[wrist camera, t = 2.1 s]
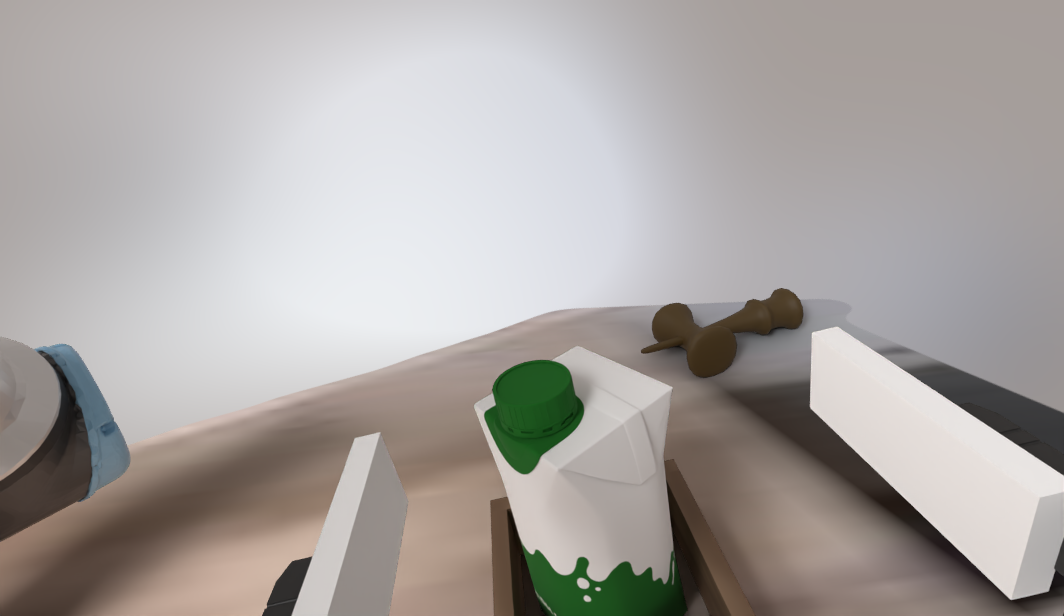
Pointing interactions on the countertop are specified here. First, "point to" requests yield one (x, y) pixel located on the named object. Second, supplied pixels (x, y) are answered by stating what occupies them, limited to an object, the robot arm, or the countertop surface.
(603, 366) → the soya milk
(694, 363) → the kendama
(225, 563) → the countertop surface
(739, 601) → the collar
